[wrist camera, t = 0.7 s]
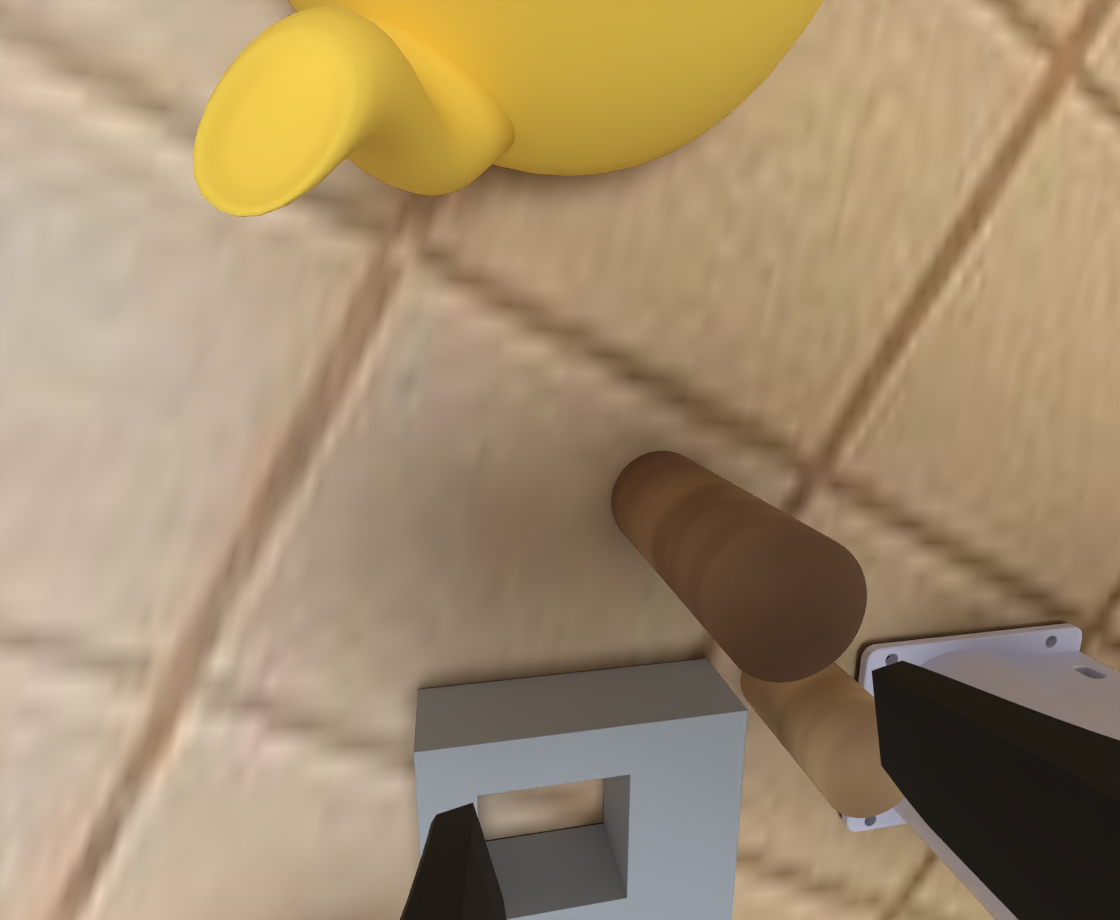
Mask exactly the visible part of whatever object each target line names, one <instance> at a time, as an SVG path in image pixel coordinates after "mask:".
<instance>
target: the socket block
mask: <svg viewBox="0 0 1120 920" xmlns="http://www.w3.org/2000/svg"><path fill="white" fill-rule="evenodd" d="M747 713H748V710H747V709H746V708H745V706H744V705H743V704H742V703H741V701H740V700H739V699H738V697H737V696H736V695H735V694H734V692H733V691H732V690H731V688H730V687H729V686H728V685H727V683H726V682H725V681H724V680H723V678H722V677H721V676H720V674H719V673H718V672H717V671H716V669H715V668H714V667H713V665H712V664H711V663H710V662H709V660H708V659H707V658H706V659H697V660H688V661H678V662H669V663H660V664H651V665H641V666H632V667H623V668H614V669H604V670H595V671H586V672H576V673H567V674H558V675H549V676H539V677H530V678H521V679H512V680H502V681H493V682H484V683H475V684H465V685H456V686H447V687H437V688H428V689H419V690H418V699H417V713H416V727H415V741H414V765H415V781H416V796H417V812H418V827H419V843H420V858H421V856H422V853H423V850H424V846H425V843H426V839H427V836H428V832H429V829H430V825H431V822H432V820H433V819H434V817H435V816H436V814H439V813H442V812H445V811H448V810H451V809H454V808H458V807H461V806H464V805H467V804H470V803H473V804H474V807H475V810H476V813H477V817H478V800H477V796H481V795H488V794H495V793H502V792H509V791H516V790H523V789H530V788H537V787H544V786H551V785H559V784H566V783H573V782H580V781H587V780H594V779H601V778H604V814H603V824H596V825H590V826H583V827H577V828H570V829H564V830H557V831H551V832H544V833H538V834H532V835H525V836H519V837H512V838H506V839H499V840H493V841H486V845H487V848H488V851H489V854H490V858H491V861H492V864H493V867H494V870H495V873H496V876H497V880H498V883H499V886H500V889H501V892H502V895H503V898H504V905H505V912H506V919H507V920H732V910H733V897H734V884H735V871H736V857H737V844H738V831H739V818H740V805H741V792H742V779H743V766H744V752H745V739H746V726H747Z"/></svg>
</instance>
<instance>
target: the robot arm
mask: <svg viewBox="0 0 1120 920" xmlns="http://www.w3.org/2000/svg"><path fill="white" fill-rule="evenodd" d="M1081 641H1082V632H1081V630H1080V629H1079V628H1078V627H1076V626H1074V625H1072V624H1068V623H1064V624H1055V625H1046V626H1037V627H1028V628H1019V629H1009V630H1000V631H991V632H982V633H973V634H964V635H955V636H945V637H936V638H927V639H918V640H909V641H900V642H890V643H881V644H874V645H871V646H869V647H867V648H866V649H865V650H864V652H863V654H862V657H861V664H860V672H859V680H858V683H859V684H860V685H861V686H862V687H863V688H864V689H866V690H867V691H868V692H869V693H870V694H871V695H873V696H874V700H875V710H876V720H877V729H878V739H879V749H880V759H881V766H882V767H883V769H884V770H885V771H886V773H887V774H888V775H889V777H890V778H891V779H892V781H893V782H894V783H895V785H896V786H897V787H898V789H899V790H900V791H901V793H902V794H903V795H904V797H905V798H904V799H903V800H902V801H901V802H900V803H899V804H897V805H896V806H895V807H893V808H891V809H890V810H888V811H886V812H884V813H882V814H879V815H877V816H873V817H869V818H852V817H848V816H845V815H843V814H842V821H843V823H844V824H845V825H846V827H847V828H848V829H849V830H850V831H852V832H860V831H866V830H872V829H877V828H883V827H889V826H895V825H901V824H908V825H909V826H910V827H911V828H912V830H913V831H914V832H915V833H916V834H917V835H918V836H919V837H920V838H921V839H922V840H923V841H924V843H925V844H926V845H927V846H928V847H929V848H930V849H931V850H932V851H933V852H934V853H935V854H936V856H937V857H938V858H939V859H940V860H941V861H942V862H943V863H944V864H945V865H946V866H947V867H948V869H949V870H950V871H951V872H952V873H953V874H954V875H955V876H956V877H957V878H958V879H959V880H960V882H961V883H962V884H963V885H964V886H965V887H966V888H967V889H968V890H969V891H970V892H971V893H972V895H973V896H974V897H975V898H976V899H977V900H978V901H979V902H980V903H981V904H982V905H983V906H984V908H985V909H986V910H987V911H988V912H989V913H990V914H991V915H992V916H993V917H994V918H995V919H996V920H1120V672H1118V671H1116V670H1114V669H1112V668H1110V667H1108V666H1106V665H1104V664H1102V663H1100V662H1099V661H1097V660H1095V659H1093V658H1091V657H1089V656H1087V655H1085V654H1083V653H1081V652H1079V651H1080V646H1081ZM889 655H890V657H889V658H888V659H887V660H886V658H887V657H888V656H889ZM400 920H507V919H506V912H505V905H504V898H503V895H502V892H501V889H500V886H499V883H498V880H497V876H496V873H495V870H494V867H493V864H492V861H491V858H490V854H489V851H488V848H487V845H486V842H485V839H484V835H483V832H482V829H481V826H480V823H479V820H478V817H477V813H476V810H475V807H474V804H473V803H470V804H467V805H464V806H461V807H458V808H454V809H451V810H448V811H445V812H442V813H439V814H436V816H435V817H434V819H433V820H432V822H431V825H430V829H429V832H428V836H427V839H426V843H425V846H424V850H423V853H422V856H421V859H420V863H419V866H418V869H417V872H416V875H415V878H414V881H413V884H412V887H411V890H410V893H409V896H408V899H407V902H406V905H405V907H404V910H403V913H402V916H401V918H400Z"/></svg>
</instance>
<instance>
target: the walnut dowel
mask: <svg viewBox="0 0 1120 920" xmlns="http://www.w3.org/2000/svg"><path fill="white" fill-rule="evenodd" d="M612 511H613V515H614V518H615V521H616V523H617V525H618V526H619V528H620V529H621V530H622V532H623V533H624V534H625V535H626V536H627V537H628V539H629V540H630V541H631V542H632V543H633V544H634V546H635V547H636V548H637V549H638V550H639V552H640V553H641V554H642V555H643V556H644V557H645V559H646V560H647V561H648V562H649V563H650V564H651V566H652V567H653V568H654V569H655V570H656V571H657V573H658V574H659V575H660V576H661V577H662V579H663V580H664V581H665V582H666V583H667V584H668V586H669V587H670V588H671V589H672V590H673V591H674V593H675V594H676V595H677V596H678V597H679V598H680V600H681V601H682V602H683V603H684V604H685V606H686V607H687V608H688V609H689V610H690V611H691V613H692V614H693V615H694V616H695V617H696V618H697V620H698V621H699V622H700V623H701V624H702V625H703V627H704V628H705V629H706V630H707V631H708V632H709V634H710V635H711V636H712V637H713V638H714V640H715V641H716V642H717V643H718V644H719V645H720V647H721V648H722V649H723V650H724V651H725V652H726V654H727V655H728V656H729V657H730V658H731V659H732V661H733V662H734V663H735V664H736V665H737V666H738V667H739V668H740V669H741V670H743V671H744V672H745V673H747V674H749V675H750V676H752V677H754V678H757V679H760V680H763V681H768V682H777V683H783V682H792V681H798V680H801V679H804V678H807V677H810V676H812V675H814V674H816V673H818V672H820V671H822V670H823V669H825V668H826V667H828V666H829V665H830V664H832V663H833V662H834V661H835V660H836V659H837V658H839V657H840V656H841V655H842V653H843V652H844V651H845V650H846V649H847V648H848V646H849V645H850V644H851V642H852V641H853V639H854V637H855V636H856V634H857V632H858V630H859V628H860V625H861V623H862V620H863V617H864V614H865V608H866V600H867V590H866V582H865V578H864V575H863V572H862V569H861V567H860V565H859V563H858V562H857V560H856V559H855V557H854V556H853V555H852V554H851V553H850V552H849V551H848V550H847V549H846V548H845V547H843V546H842V545H840V544H839V543H837V542H836V541H834V540H832V539H830V538H828V537H827V536H825V535H823V534H821V533H820V532H818V531H816V530H814V529H812V528H811V527H809V526H807V525H805V524H803V523H802V522H800V521H798V520H796V519H795V518H793V517H791V516H789V515H787V514H786V513H784V512H782V511H780V510H778V509H777V508H775V507H773V506H771V505H770V504H768V503H766V502H764V501H762V500H761V499H759V498H757V497H755V496H753V495H752V494H750V493H748V492H746V491H745V490H743V489H741V488H739V487H737V486H736V485H734V484H732V483H730V482H728V481H727V480H725V479H723V478H721V477H720V476H718V475H716V474H714V473H712V472H711V471H709V470H707V469H705V468H703V467H702V466H700V465H698V464H696V463H695V462H693V461H691V460H689V459H687V458H686V457H684V456H682V455H680V454H677V453H674V452H669V451H656V452H651V453H647V454H645V455H642V456H640V457H639V458H637V459H635V460H634V461H632V462H631V463H630V464H629V465H628V466H627V467H626V468H625V469H624V470H623V471H622V473H621V474H620V476H619V477H618V479H617V481H616V483H615V486H614V489H613V493H612Z"/></svg>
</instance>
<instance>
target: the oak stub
mask: <svg viewBox="0 0 1120 920" xmlns="http://www.w3.org/2000/svg"><path fill="white" fill-rule="evenodd" d="M741 685H742V691H743V694H744V696H745V698H746V699H747V701H748V702H749V703H750V705H751V706H752V707H753V708H754V710H755V711H756V712H757V713H758V715H759V716H760V717H761V718H762V720H763V721H764V722H765V723H766V725H767V726H768V727H769V728H770V730H771V731H772V732H773V733H774V735H775V736H776V737H777V738H778V740H779V741H780V742H781V743H782V745H783V746H784V747H785V748H786V750H787V751H788V752H789V753H790V754H791V756H792V757H793V758H794V759H795V761H796V762H797V763H798V764H799V766H800V767H801V768H802V769H803V771H804V772H805V773H806V774H807V776H808V777H809V778H810V779H811V781H812V782H813V783H814V784H815V786H816V787H817V788H818V789H819V791H820V792H821V793H822V794H823V796H824V797H825V798H826V799H827V801H828V802H829V803H830V804H831V806H832V807H833V808H834V809H835V810H837V811H838V812H839V813H841V814H843V815H845V816H848V817H852V818H869V817H873V816H877V815H879V814H882V813H884V812H886V811H888V810H890V809H891V808H893V807H895V806H896V805H897V804H899V803H900V802H901V801H902V800H903V799H904V798H905V797H904V795H903V794H902V793H901V791H900V790H899V789H898V787H897V786H896V785H895V783H894V782H893V781H892V779H891V778H890V777H889V775H888V774H887V773H886V771H885V770H884V769H883V767H882V766H881V759H880V749H879V739H878V729H877V720H876V710H875V700H874V696H873V695H871V694H870V693H869V692H868V691H867V690H866V689H864V688H863V687H862V686H861V685H860V684H859V683H858V682H856V681H855V680H854V679H853V678H852V677H851V676H850V675H848V674H847V673H846V672H845V671H844V670H843V669H841V668H840V667H839V666H838V665H837V664H836V663H835V662H833V663H832V664H830V665H829V666H828V667H826V668H825V669H823V670H822V671H820V672H818V673H816V674H814V675H812V676H810V677H807V678H804V679H801V680H798V681H792V682H783V683H777V682H768V681H763V680H760V679H757V678H754V677H752V676H750V675H749V674H747V673H745V672H744V671H743V672H742V678H741Z"/></svg>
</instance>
